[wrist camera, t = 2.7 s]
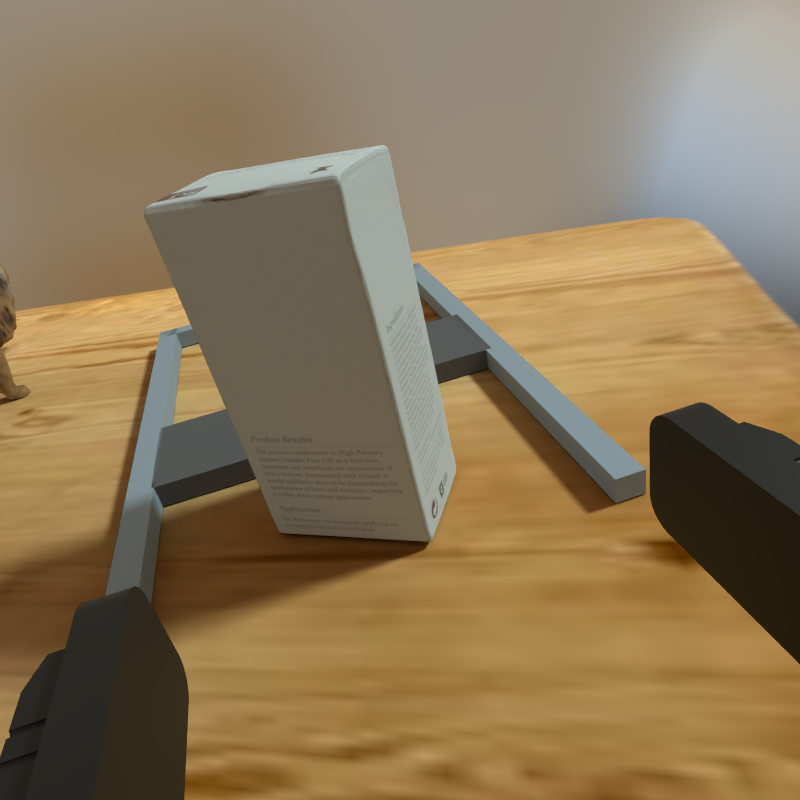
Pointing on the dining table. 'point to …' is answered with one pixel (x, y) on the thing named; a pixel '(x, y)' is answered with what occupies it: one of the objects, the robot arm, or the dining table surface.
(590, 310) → the dining table surface
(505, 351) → the lane rails
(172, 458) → the grey square block
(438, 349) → the grey slab
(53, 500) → the dining table surface
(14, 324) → the lion figurine
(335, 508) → the skincare box
